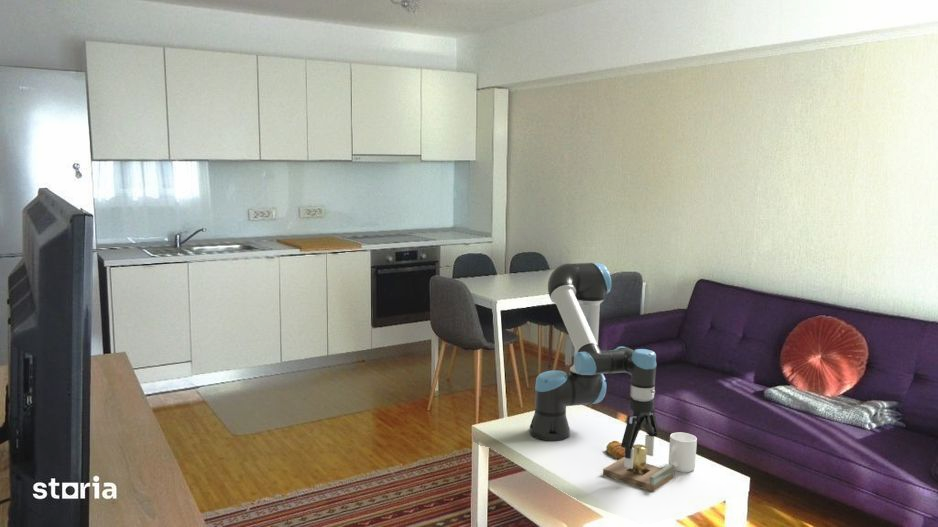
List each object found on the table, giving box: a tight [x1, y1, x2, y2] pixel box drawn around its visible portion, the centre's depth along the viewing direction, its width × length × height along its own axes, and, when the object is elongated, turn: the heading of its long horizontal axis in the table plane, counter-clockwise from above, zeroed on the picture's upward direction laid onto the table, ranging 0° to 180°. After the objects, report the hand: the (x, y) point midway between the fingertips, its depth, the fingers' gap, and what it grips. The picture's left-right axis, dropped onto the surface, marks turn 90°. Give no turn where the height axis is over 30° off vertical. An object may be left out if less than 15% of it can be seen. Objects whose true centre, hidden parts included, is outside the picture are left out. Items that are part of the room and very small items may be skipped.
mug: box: [668, 431, 698, 473], centre depth 239 cm, size 9×12×11 cm
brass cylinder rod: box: [632, 443, 647, 476], centre depth 232 cm, size 4×4×10 cm
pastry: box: [605, 440, 625, 460], centre depth 250 cm, size 9×7×4 cm
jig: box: [602, 457, 675, 492], centre depth 232 cm, size 18×14×4 cm
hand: (638, 461), depth 232 cm, fingers open, 13 cm apart
